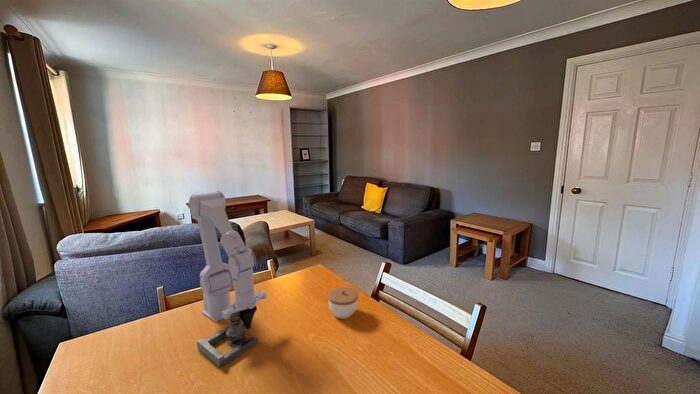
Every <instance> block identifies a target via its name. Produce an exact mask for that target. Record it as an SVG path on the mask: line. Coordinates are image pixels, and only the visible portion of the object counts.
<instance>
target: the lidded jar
mask: <svg viewBox="0 0 700 394" xmlns="http://www.w3.org/2000/svg"><path fill="white" fill-rule="evenodd" d="M327 299H328V300H327V302H328V307H329V310H330V312H331V313H332V314H333V315H334V316H335V317H336V318H338V319H340V320H345V319H348V318H350V317H352V315H353V314H354V313H355V312H356V310H357V306H358V304H359V303H358V300H359V293H358V291H357V290H356V289H354V288H352V287H350V286H349V287H348V286H339V287H335V288H332V289H331V290H330V291H329V292H328V293H327Z"/></svg>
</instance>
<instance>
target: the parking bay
mask: <svg viewBox="0 0 700 394" xmlns="http://www.w3.org/2000/svg"><path fill="white" fill-rule="evenodd" d="M230 327H231V325H228V326H227V327H225V328H223V329H221V330H219V331H218V332H216V333H214V334H213V335H210V336H208V337H207V338H205V339H204V338H203V337H201V338H199V339H197V340H196V344H197V350H198V351H199V352H200V353H201V354H203V356H205V357H206V358H207V359H208V360H209V361H211V362H212V364H214V365H215V366H217V368H219V369H221V368H224V366H225V365H227V364H229V363H230V362H231V361H233V360H235V359H236V358H238V357H239V356H240V355H242V354H244V353H245V352H247V351H248V350H250V349H251V348H253V347H255V345H257V344H258V343H259V337H258V336H257V335H253V336H251V337H249V338H248V339H246V341H245V342H243V343H242V344H240V345H238V346H237V347H233V348H232V349H231V350H229V351H227V352H226V353H224V354H223V353H221V352H220V351H219V350H218V349H217V348H215V347H214V346H213V345H215V344H216V343H218V342H219V341H222V340H223V339H224V338H226V337H227V338H228V336H227V335H226V332H227V330H228V329H229V328H230Z"/></svg>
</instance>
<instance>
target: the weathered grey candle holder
mask: <svg viewBox="0 0 700 394" xmlns="http://www.w3.org/2000/svg"><path fill="white" fill-rule="evenodd" d="M233 308H234V309H235V306H234V307H233ZM241 319H242V318H241V317H240V311H238V312H235V313H232V314H231V316H229V320H228V322H229V324H230V325H231V327H230V328H229V329H228V330H227V332H226V335H227V338H228V342H227V345H228V346H229V347H232V348H235V347H237V346H238V345H240V344H242V343H243V342H245V341H246V340H247V337H246V336H245V335H246V332H247V329H246V327H245V326H244V325H243V324H242V320H241ZM230 325H229V326H230Z"/></svg>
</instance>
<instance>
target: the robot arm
mask: <svg viewBox="0 0 700 394" xmlns="http://www.w3.org/2000/svg"><path fill="white" fill-rule="evenodd" d="M226 202H227V201H226V197H225V195H224V193H223V192H222V191H220V190H217V191H211V192H205V193H204V192H203V193H198V194H195V193H193V194H191V195H190V197H189V201H188V206H189V207H188V208H189V212H190V215H191V218H192V220H196V221H197V226H198V230H199V233H200V239H201V244H202V248H203V253H204V259H205V263H206V266H205V267H204V268H203V269H202V270H201V272H200V273H199V287H200V289H201V291H202V293H203V294H202V297H203V298H202V299H203V308H204V310H202V311H201V313H202V314H203V315H205V316H206V317H207V318H209V319H211V320H212V321H213V322H214V323H216V322H218V321H220V320H223V319H224V320H228V319H230V316H231V314H232V313H235V312H238V311H240V317H241V318H242V319H241V323H242V325H244V326H245V327H246V330H250V329H251V327H252V322H253V319H254V316H255V314H256V312H257V305H256V304H257V303H258V302H259V301H261V300H266V299H267V292H266V291H263V290H261V291H260V292H257V293H256V292H255V285H254V270H253V268H254V267H255V266H256V265H257V257H256V255H255V252H254V251H253V250H252V249H251V248H250V247H249V246H246V245H245V242H244V241H243V239H242V236H241V235H240V232H238V231H237V230H234V229H233V227H232V224H231V222H230V220H229V218H228V214H227V212H226V206H227V205H226ZM217 229H218V232H219V233H220V235H221V237H220V239H219V241H220V243H221V245H222V247H223V249H224V251H225V253H226V255H227V257H228V262H227V263H225V262H223V261H222V260H223V259H222V256H221V250H220V246H219V242H218V236H217V232H216V230H217ZM232 286H233V287H234V288H233V290H234V300H235V301H234V302H233V303H232V304H231V294H230V289H232ZM234 306H235V309H234V308H233V307H234Z"/></svg>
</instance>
